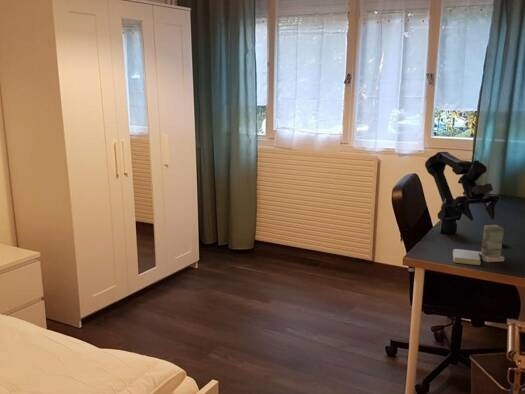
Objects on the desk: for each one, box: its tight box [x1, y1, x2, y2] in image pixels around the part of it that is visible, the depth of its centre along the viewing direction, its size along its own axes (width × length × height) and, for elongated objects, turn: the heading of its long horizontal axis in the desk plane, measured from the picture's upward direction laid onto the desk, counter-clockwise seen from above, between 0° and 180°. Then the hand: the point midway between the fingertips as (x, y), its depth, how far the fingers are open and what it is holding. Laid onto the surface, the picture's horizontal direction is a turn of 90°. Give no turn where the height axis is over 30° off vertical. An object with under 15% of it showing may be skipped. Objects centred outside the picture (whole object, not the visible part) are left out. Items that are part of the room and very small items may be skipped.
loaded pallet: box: [478, 224, 505, 263], centre depth 191 cm, size 7×7×13 cm
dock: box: [452, 248, 481, 266], centre depth 191 cm, size 9×10×2 cm
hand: (482, 219), depth 197 cm, fingers open, 9 cm apart
